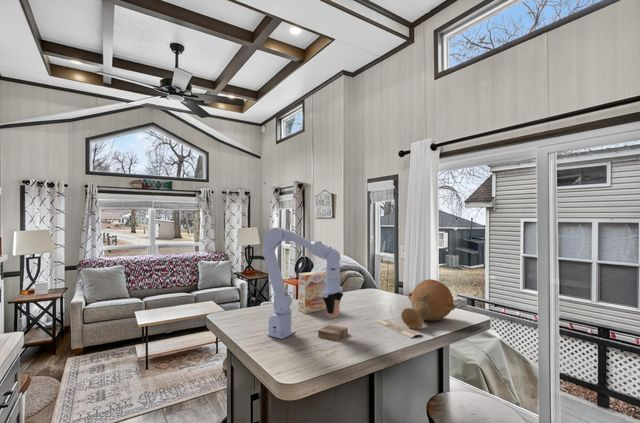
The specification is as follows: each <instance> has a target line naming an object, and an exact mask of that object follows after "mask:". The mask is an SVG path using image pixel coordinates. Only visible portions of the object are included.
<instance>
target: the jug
mask: <svg viewBox="0 0 640 423" xmlns="http://www.w3.org/2000/svg"><path fill="white" fill-rule="evenodd" d="M407 298H408V300H409V301H410V303H411V304H410V305H411V307H407V308H405V309H403V310H402V312H401V314H400V317H401V321H402V322H403V323H404V324H405V326H407V328H408V327H409V329H413V330H417V329H421V328H422V327H423V325H424V323H425V321H427V322H429V321H430V322H434V321H440V320H441V319H443V318H445V317H447V316H449V314H450V313H451V312H452V311H454V310H455V309H456V305H455V304H454V296H453V294H452V292H451V290H450V289H449V288H448V286H447V285H445V284H444V283H442V282H441V281H439V280H435V279H429V278H428V279H424V280H422V281H420V282H419V283H417V284H416V286H415V287H414V289H413V291H412V292H410V293H408V295H407Z"/></svg>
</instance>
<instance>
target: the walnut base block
mask: <svg viewBox="0 0 640 423" xmlns="http://www.w3.org/2000/svg"><path fill="white" fill-rule="evenodd" d="M348 329H349V328H348V327H345V326H339V325H334V324H326V325H325V326H323V327H321V328H320V329H318V330H317V334H318V335H317V337H318V338H322V339H327V340H333V341H336V342H339V341H340V340H342V339H343V338H344V337H346V336H347V335H348V334H349V333H348V331H349V330H348Z"/></svg>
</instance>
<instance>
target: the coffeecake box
mask: <svg viewBox="0 0 640 423" xmlns="http://www.w3.org/2000/svg"><path fill="white" fill-rule="evenodd" d="M297 289H298V290H297V292H298V293H297V294H298V296H297V298H298V299H297V311H298V312H301V313H304V314H309V313H314V312H315V313H316V312H319V311H325V310H326V304H325V301H324V300H323V298H322V292H324V291H325V289H326V271H323V270H322V271H320V270H319V271H311V272H309V271H308V272H299V273H298V288H297Z"/></svg>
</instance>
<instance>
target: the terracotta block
mask: <svg viewBox="0 0 640 423" xmlns="http://www.w3.org/2000/svg"><path fill="white" fill-rule="evenodd" d="M325 310H326V313H325V314H326V316H327V317H331V318H336V317H338V316H340V304H339V300H335V303H334V310H333V313H332V314H331V313H328V312H327V308H326V309H325Z"/></svg>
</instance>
